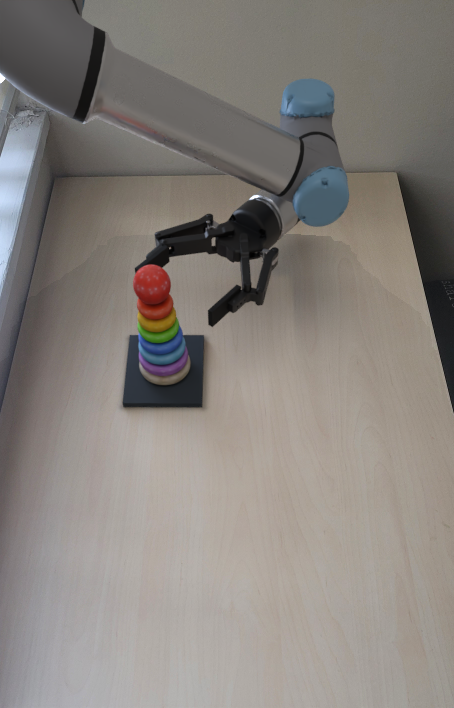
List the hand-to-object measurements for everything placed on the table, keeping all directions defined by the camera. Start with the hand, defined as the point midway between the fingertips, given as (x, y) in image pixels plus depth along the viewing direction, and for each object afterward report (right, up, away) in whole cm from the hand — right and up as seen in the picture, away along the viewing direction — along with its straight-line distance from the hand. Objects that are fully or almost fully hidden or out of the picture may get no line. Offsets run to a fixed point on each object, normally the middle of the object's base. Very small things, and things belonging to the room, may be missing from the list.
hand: (172, 297), depth 91 cm
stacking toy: (-2, -8, +9) cm, 12 cm away
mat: (-2, -9, +10) cm, 13 cm away
